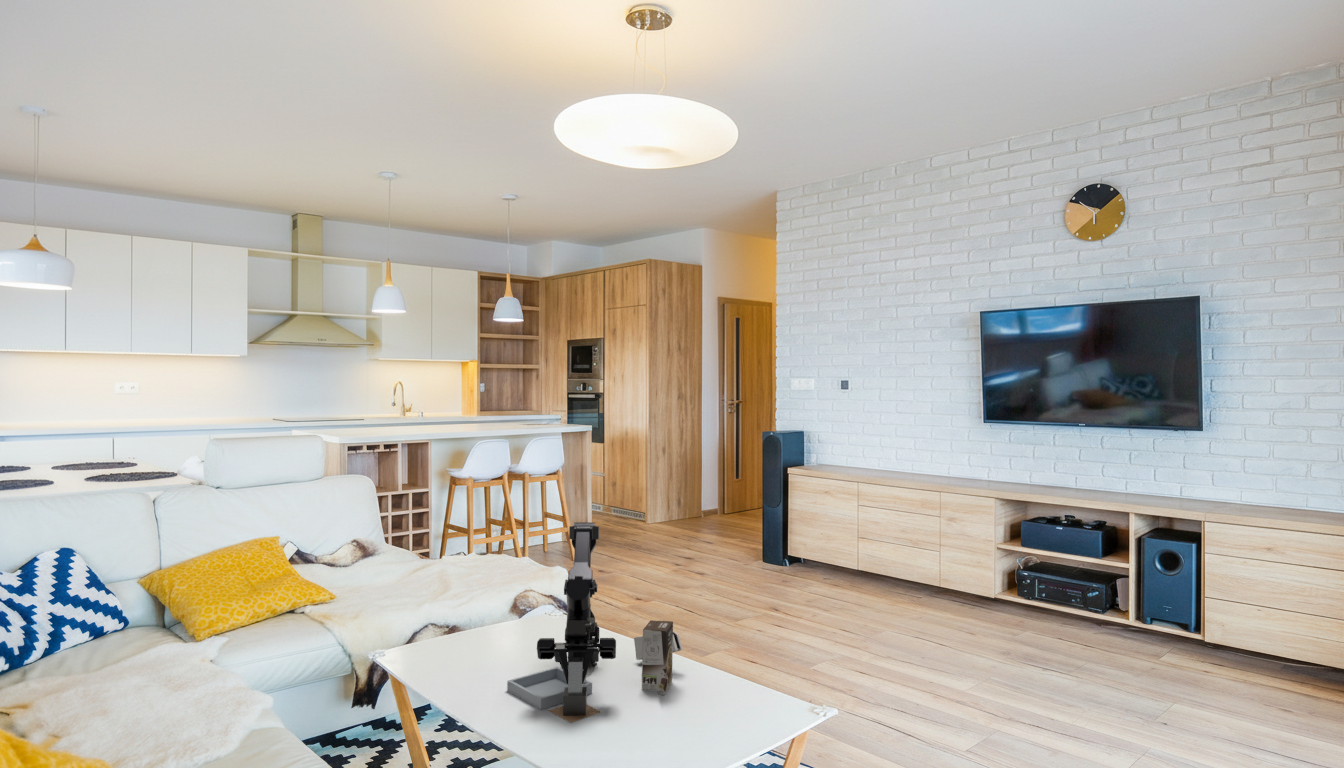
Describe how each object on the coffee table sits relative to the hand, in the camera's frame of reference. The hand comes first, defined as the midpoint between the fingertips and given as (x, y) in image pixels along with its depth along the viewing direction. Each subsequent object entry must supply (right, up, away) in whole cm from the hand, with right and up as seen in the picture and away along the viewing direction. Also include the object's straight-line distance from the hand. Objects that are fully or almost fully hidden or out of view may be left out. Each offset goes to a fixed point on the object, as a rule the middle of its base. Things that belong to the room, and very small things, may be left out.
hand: (575, 683), depth 179 cm
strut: (0, -7, +1) cm, 7 cm away
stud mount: (0, -8, +1) cm, 8 cm away
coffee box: (+19, -9, +19) cm, 28 cm away
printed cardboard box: (+13, -7, +37) cm, 40 cm away
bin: (-8, -8, +13) cm, 17 cm away
